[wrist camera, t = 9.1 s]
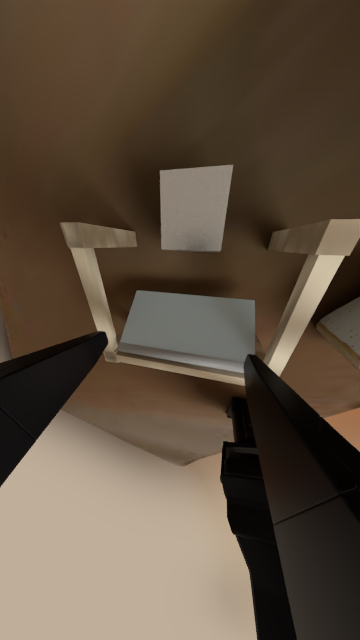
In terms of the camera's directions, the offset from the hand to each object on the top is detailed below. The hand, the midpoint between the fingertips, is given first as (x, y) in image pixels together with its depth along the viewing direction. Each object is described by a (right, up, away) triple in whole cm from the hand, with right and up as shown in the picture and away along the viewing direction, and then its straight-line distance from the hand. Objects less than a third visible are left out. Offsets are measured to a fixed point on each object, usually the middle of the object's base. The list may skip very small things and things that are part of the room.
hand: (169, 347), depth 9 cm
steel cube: (+2, +11, +4) cm, 12 cm away
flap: (+1, +1, +7) cm, 7 cm away
